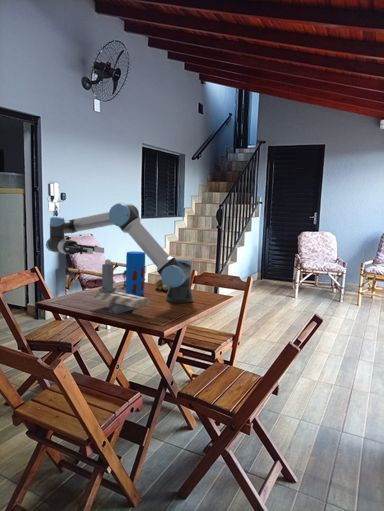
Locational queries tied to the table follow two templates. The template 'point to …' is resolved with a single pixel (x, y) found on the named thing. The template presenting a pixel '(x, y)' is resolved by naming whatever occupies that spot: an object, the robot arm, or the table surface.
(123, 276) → the watch
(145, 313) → the table surface
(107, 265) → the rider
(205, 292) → the table surface
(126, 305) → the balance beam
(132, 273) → the thermos
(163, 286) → the ginger root
